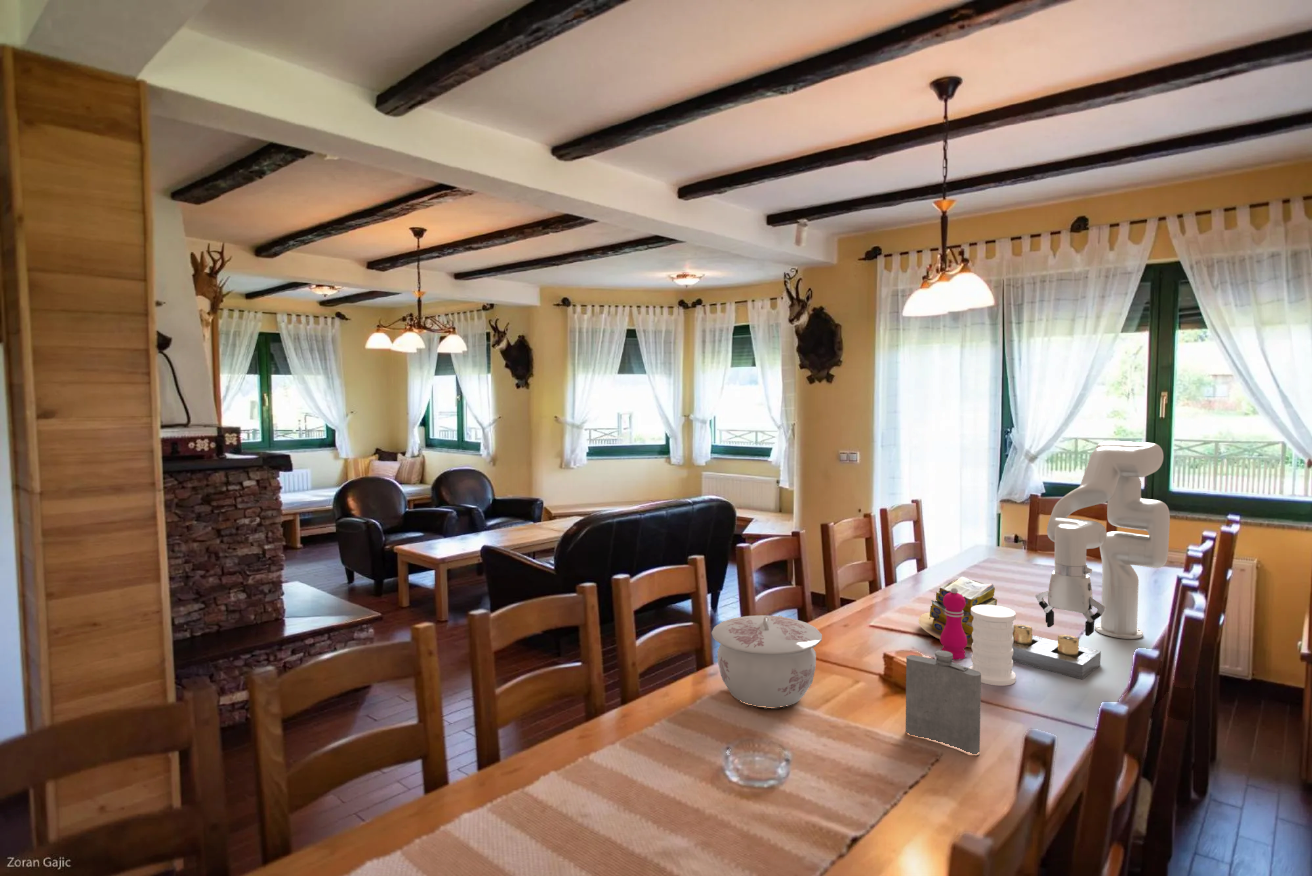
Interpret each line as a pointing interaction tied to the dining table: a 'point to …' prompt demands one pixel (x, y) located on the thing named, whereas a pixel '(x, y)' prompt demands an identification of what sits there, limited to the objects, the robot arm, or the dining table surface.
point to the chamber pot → (767, 658)
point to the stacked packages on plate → (973, 596)
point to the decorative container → (993, 644)
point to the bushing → (1068, 645)
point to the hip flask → (943, 701)
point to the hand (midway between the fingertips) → (1069, 630)
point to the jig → (1051, 654)
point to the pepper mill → (954, 625)
